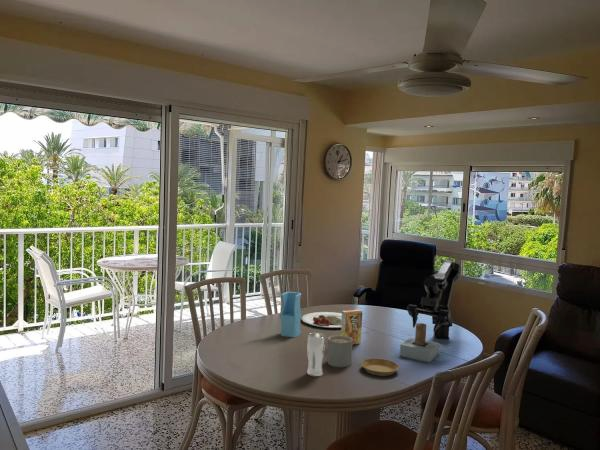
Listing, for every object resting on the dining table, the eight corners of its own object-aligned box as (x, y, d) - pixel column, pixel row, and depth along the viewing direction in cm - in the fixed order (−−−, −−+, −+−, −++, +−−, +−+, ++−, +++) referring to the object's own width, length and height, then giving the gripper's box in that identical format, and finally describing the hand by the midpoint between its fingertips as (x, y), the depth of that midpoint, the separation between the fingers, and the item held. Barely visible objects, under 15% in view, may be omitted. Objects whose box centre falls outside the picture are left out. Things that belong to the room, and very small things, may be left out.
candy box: (356, 341, 227) (357, 309, 226) (361, 343, 224) (362, 311, 222) (340, 343, 223) (341, 310, 222) (344, 345, 220) (346, 312, 219)
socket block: (410, 348, 220) (410, 337, 220) (438, 354, 213) (439, 343, 213) (399, 355, 209) (400, 344, 209) (429, 362, 202) (430, 350, 202)
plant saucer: (372, 361, 201) (373, 355, 201) (405, 371, 192) (405, 364, 192) (353, 371, 190) (353, 364, 190) (386, 381, 180) (387, 374, 180)
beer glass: (305, 370, 188) (306, 332, 187) (322, 370, 189) (324, 332, 188) (306, 376, 181) (308, 337, 180) (325, 377, 182) (326, 337, 181)
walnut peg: (420, 351, 214) (422, 322, 213) (426, 355, 210) (428, 325, 209) (412, 352, 212) (414, 323, 211) (418, 355, 208) (419, 326, 207)
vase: (279, 335, 232) (281, 294, 230) (286, 331, 239) (287, 291, 238) (294, 337, 229) (296, 296, 228) (300, 333, 236) (302, 293, 235)
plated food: (360, 318, 271) (360, 312, 270) (353, 333, 241) (354, 326, 241) (307, 313, 277) (308, 307, 277) (295, 327, 248) (295, 320, 248)
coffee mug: (343, 369, 191) (344, 344, 190) (322, 363, 197) (323, 338, 196) (360, 360, 201) (361, 337, 201) (340, 354, 207) (341, 332, 207)
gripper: (409, 287, 222) (399, 315, 213) (450, 292, 212) (441, 323, 203) (414, 300, 229) (404, 329, 220) (454, 307, 219) (445, 336, 211)
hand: (423, 329), depth 214 cm, fingers open, 9 cm apart
